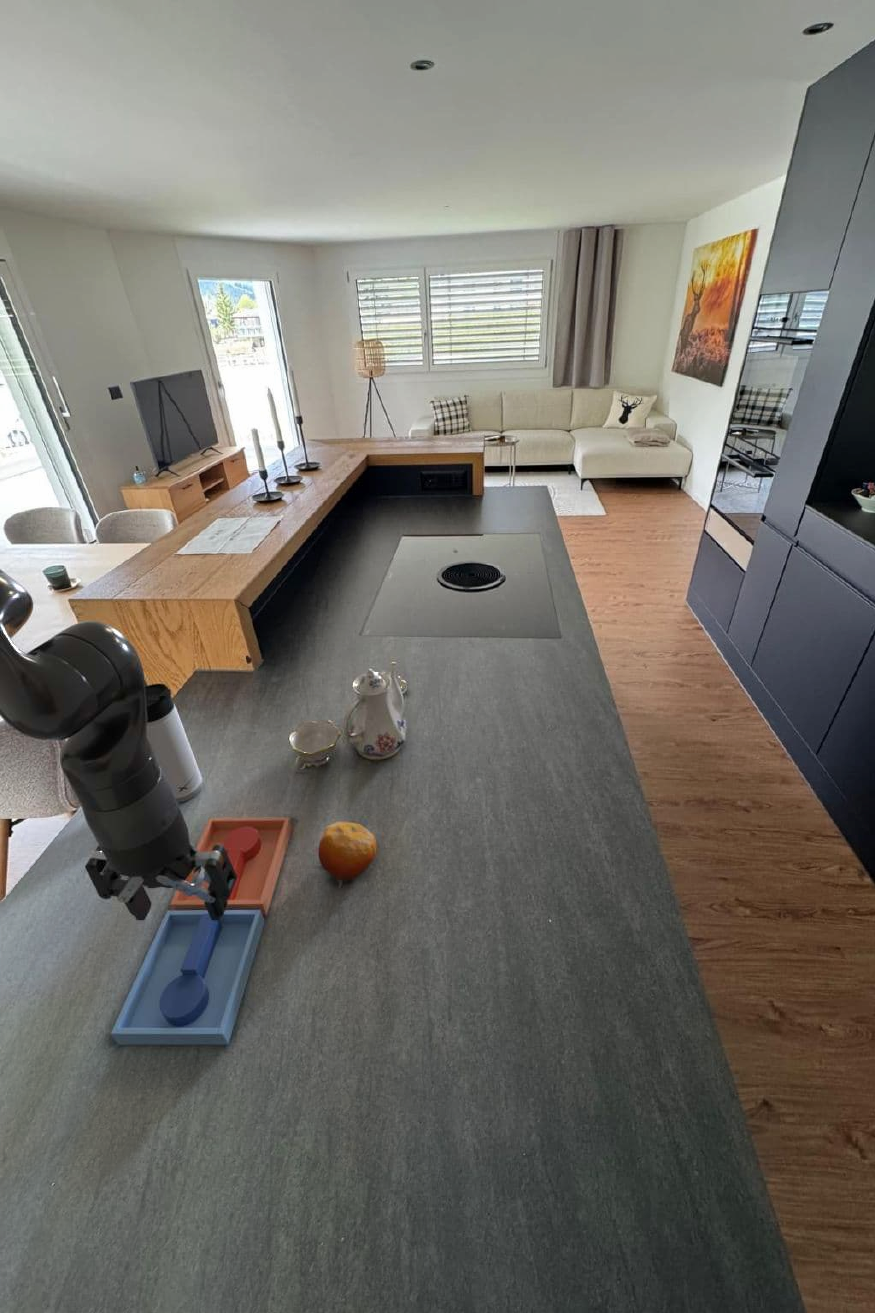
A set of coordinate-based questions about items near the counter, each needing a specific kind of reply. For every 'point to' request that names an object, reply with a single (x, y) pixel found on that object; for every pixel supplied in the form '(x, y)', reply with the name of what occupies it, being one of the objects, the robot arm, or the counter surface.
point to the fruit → (346, 850)
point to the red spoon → (241, 851)
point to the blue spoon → (191, 977)
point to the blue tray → (163, 965)
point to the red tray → (257, 871)
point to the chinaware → (359, 722)
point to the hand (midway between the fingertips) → (181, 913)
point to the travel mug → (171, 743)
